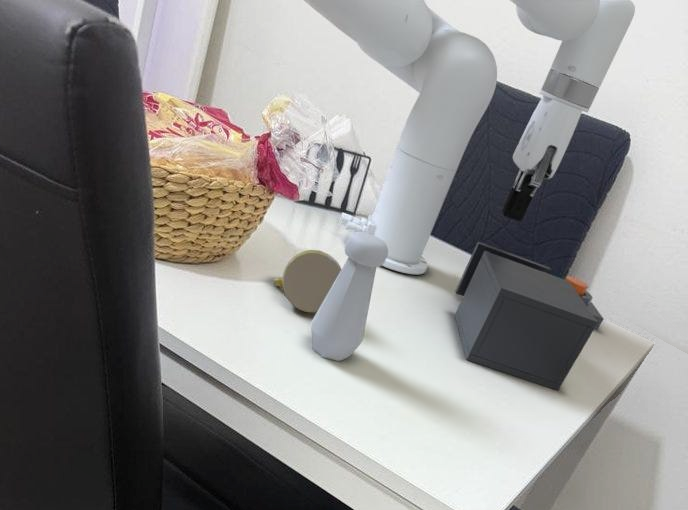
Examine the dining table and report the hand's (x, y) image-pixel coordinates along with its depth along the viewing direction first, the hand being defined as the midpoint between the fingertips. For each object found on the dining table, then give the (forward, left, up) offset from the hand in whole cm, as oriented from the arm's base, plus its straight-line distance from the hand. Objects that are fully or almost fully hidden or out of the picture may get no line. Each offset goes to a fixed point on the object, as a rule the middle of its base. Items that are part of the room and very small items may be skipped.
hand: (511, 217), depth 112 cm
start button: (+16, +2, -8) cm, 18 cm away
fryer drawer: (0, -16, -11) cm, 19 cm away
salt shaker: (-24, -45, -12) cm, 53 cm away
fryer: (0, -27, -12) cm, 29 cm away
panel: (+16, +2, -12) cm, 20 cm away
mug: (-28, -33, -12) cm, 45 cm away
